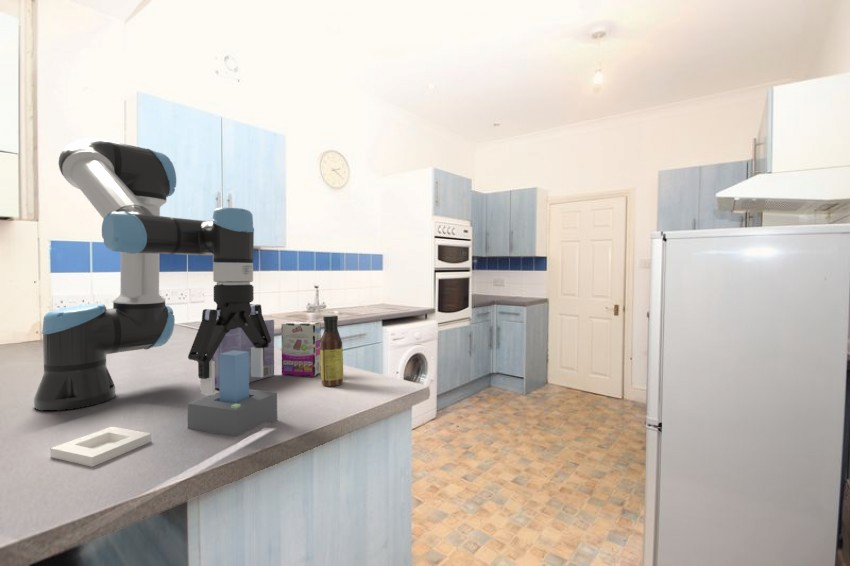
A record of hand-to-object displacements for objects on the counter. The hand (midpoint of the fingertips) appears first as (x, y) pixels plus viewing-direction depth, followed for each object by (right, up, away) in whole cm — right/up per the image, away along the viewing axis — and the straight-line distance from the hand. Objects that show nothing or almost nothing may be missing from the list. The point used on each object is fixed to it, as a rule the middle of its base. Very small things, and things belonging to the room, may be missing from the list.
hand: (234, 385), depth 85 cm
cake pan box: (-13, -8, +34) cm, 37 cm away
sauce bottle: (+13, -8, +32) cm, 35 cm away
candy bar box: (+1, -8, +42) cm, 43 cm away
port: (0, -9, 0) cm, 9 cm away
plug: (0, -7, 0) cm, 7 cm away
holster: (-17, -9, -13) cm, 23 cm away
